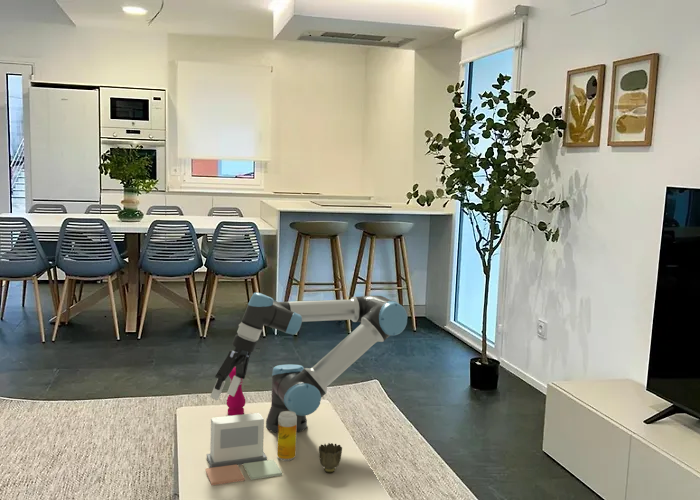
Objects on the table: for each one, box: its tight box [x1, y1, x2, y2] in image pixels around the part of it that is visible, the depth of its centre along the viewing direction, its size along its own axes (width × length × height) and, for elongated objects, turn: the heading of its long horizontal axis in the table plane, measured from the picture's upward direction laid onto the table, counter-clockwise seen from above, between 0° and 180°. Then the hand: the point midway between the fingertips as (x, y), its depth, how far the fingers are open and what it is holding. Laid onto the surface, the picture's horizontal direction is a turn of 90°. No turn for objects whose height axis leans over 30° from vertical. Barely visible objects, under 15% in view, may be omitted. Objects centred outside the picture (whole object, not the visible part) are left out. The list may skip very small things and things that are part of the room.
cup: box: [318, 442, 343, 474], centre depth 208 cm, size 8×7×8 cm
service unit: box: [206, 412, 268, 468], centre depth 213 cm, size 18×8×14 cm, turn 113°
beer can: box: [276, 411, 297, 462], centre depth 217 cm, size 6×6×15 cm
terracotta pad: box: [204, 464, 245, 486], centre depth 203 cm, size 10×10×1 cm
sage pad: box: [242, 459, 283, 481], centre depth 207 cm, size 10×10×1 cm
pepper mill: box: [226, 367, 246, 416], centre depth 254 cm, size 7×7×20 cm
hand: (222, 396), depth 220 cm, fingers open, 13 cm apart
